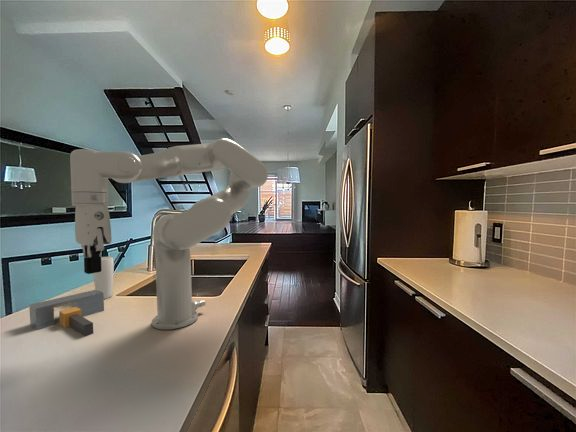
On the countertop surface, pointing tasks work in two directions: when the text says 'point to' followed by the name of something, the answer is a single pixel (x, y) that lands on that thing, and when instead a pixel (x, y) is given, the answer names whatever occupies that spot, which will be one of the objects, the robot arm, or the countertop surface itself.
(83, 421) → the countertop surface
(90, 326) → the plug
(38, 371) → the countertop surface
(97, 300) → the housing
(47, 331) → the countertop surface
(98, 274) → the drinking glass
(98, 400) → the countertop surface
